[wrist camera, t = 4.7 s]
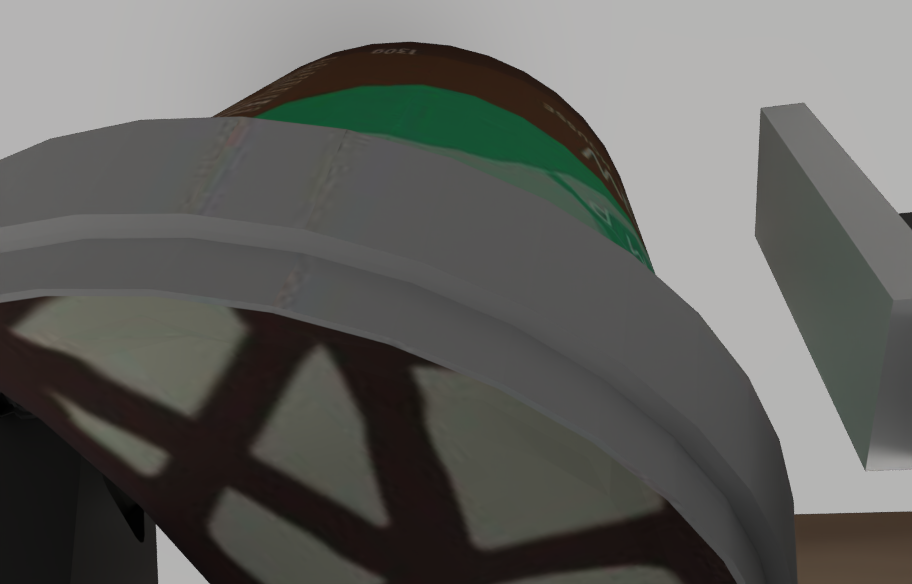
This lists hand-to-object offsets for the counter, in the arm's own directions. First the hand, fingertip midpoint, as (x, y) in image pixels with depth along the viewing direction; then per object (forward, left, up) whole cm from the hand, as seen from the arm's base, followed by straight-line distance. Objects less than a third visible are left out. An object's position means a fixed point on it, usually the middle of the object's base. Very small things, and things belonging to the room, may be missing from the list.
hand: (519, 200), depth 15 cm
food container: (0, 0, 0) cm, 0 cm away
